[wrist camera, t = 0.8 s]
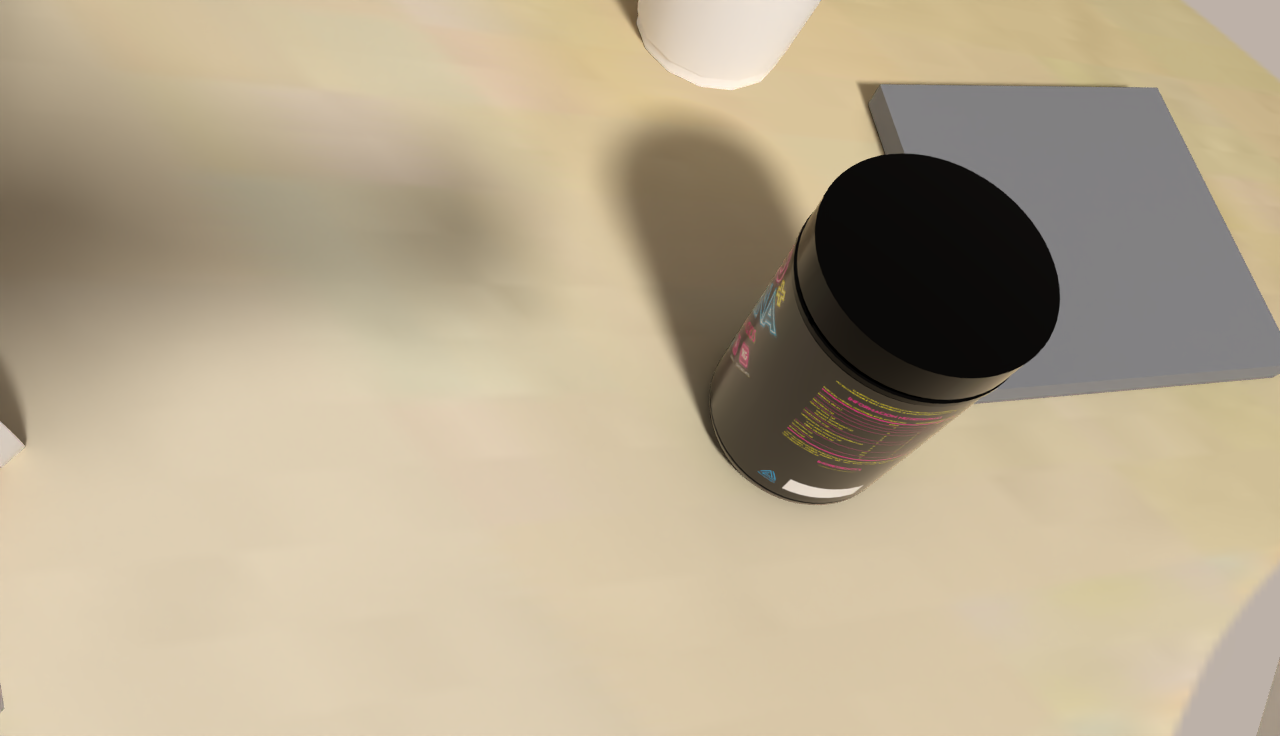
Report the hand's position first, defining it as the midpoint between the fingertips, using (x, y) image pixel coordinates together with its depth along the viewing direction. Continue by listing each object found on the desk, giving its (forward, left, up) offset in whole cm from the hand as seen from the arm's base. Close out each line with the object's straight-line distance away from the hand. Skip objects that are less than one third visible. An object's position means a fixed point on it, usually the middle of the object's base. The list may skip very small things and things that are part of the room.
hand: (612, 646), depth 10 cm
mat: (-17, +26, -19) cm, 36 cm away
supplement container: (-10, +12, -20) cm, 25 cm away
